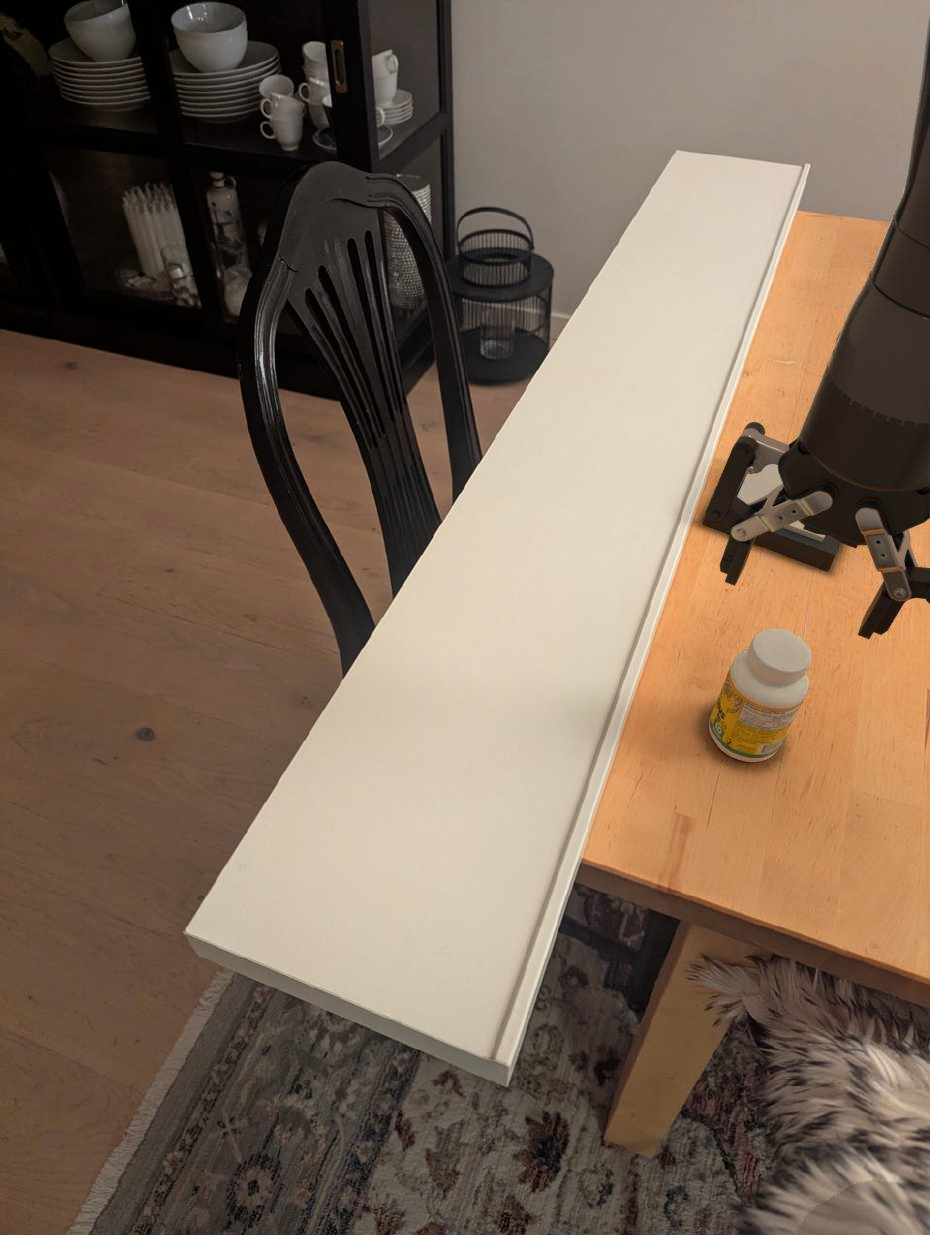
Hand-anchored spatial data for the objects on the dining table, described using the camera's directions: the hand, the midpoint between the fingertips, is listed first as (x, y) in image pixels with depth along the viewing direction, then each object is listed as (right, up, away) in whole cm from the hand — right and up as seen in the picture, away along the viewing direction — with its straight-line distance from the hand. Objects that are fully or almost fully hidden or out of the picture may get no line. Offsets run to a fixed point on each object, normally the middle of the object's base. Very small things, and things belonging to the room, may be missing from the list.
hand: (798, 602), depth 56 cm
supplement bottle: (0, -10, +11) cm, 14 cm away
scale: (+9, +9, +29) cm, 32 cm away
